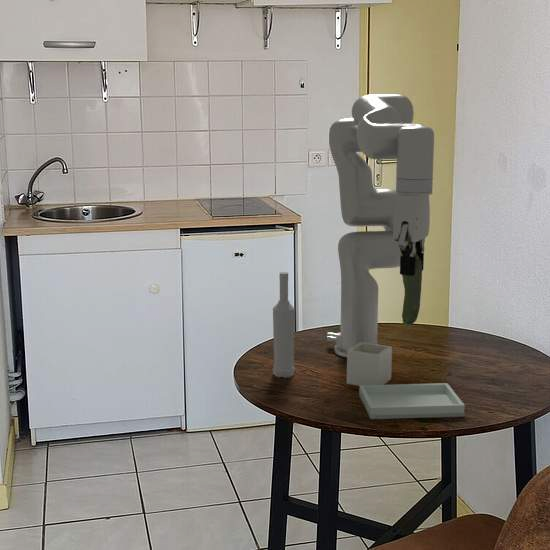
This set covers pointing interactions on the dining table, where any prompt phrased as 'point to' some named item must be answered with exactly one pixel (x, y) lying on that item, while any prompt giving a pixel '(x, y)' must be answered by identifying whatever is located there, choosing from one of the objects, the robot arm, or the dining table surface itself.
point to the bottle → (283, 332)
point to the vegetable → (412, 293)
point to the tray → (410, 401)
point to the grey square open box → (369, 364)
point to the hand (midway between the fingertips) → (411, 271)
